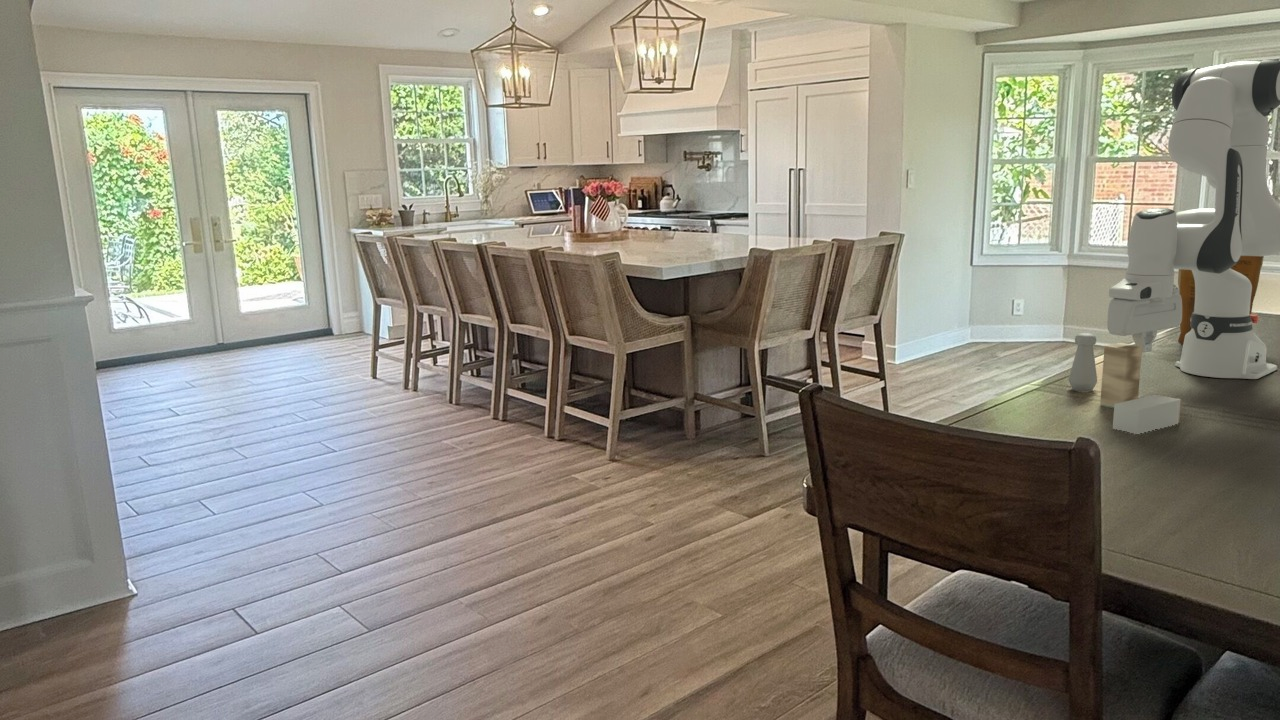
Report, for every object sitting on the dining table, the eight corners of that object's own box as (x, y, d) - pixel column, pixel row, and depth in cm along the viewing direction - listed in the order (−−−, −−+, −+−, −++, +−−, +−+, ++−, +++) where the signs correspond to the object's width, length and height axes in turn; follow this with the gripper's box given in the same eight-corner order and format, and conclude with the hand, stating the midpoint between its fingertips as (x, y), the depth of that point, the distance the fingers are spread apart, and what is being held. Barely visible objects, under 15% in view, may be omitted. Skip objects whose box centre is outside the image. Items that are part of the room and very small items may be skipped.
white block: (1156, 394, 177) (1114, 404, 172) (1181, 399, 173) (1139, 409, 167) (1154, 418, 178) (1112, 428, 173) (1179, 424, 174) (1136, 435, 168)
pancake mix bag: (1253, 351, 234) (1265, 244, 228) (1170, 344, 245) (1179, 243, 240) (1255, 346, 239) (1266, 242, 233) (1173, 340, 251) (1182, 241, 245)
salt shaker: (1099, 393, 198) (1103, 336, 196) (1071, 393, 200) (1075, 336, 197) (1092, 387, 204) (1096, 331, 201) (1065, 386, 205) (1068, 331, 202)
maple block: (1115, 402, 191) (1119, 342, 188) (1137, 406, 187) (1142, 346, 184) (1100, 405, 189) (1104, 345, 186) (1122, 410, 184) (1126, 349, 182)
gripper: (1164, 282, 193) (1158, 344, 196) (1103, 289, 184) (1098, 355, 187) (1193, 284, 188) (1187, 348, 190) (1132, 292, 178) (1126, 360, 181)
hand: (1143, 352), depth 189 cm, fingers closed
